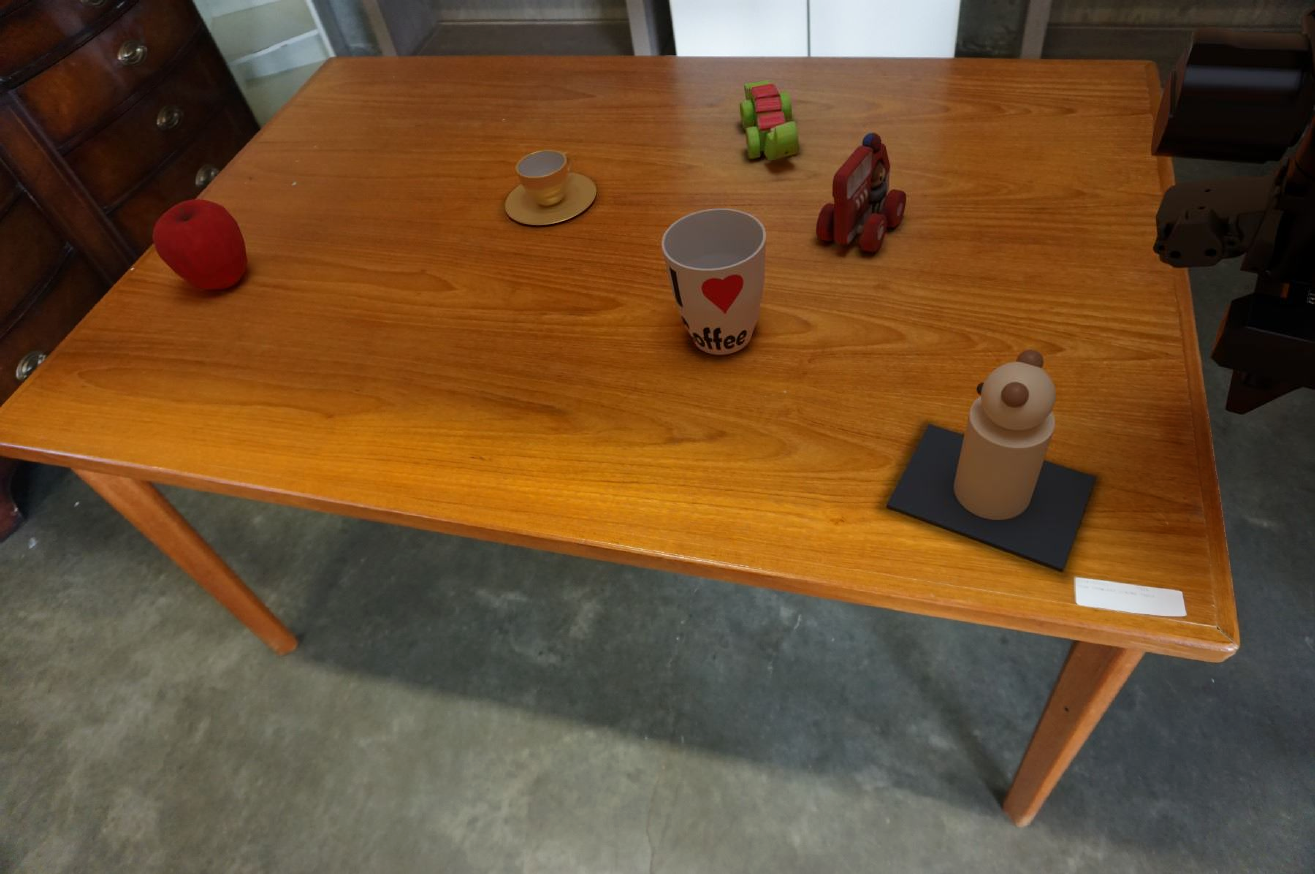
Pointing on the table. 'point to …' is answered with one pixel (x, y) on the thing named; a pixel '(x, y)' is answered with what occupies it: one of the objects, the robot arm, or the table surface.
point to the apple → (201, 244)
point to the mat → (1029, 534)
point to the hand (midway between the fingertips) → (1244, 367)
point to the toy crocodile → (768, 121)
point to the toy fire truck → (862, 198)
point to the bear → (1006, 439)
